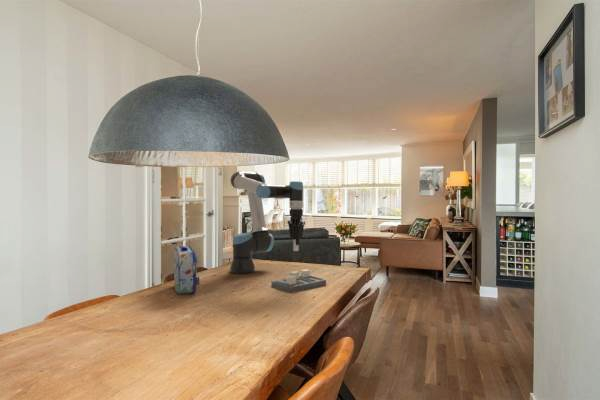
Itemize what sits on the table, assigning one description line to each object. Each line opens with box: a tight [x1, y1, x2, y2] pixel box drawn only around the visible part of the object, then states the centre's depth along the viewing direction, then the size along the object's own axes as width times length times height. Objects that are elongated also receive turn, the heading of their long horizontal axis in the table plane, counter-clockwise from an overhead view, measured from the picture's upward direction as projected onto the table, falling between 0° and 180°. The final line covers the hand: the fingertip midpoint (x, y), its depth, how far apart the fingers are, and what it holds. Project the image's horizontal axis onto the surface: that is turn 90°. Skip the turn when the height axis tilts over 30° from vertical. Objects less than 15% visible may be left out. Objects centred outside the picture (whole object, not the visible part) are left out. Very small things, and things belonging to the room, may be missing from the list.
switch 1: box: [285, 275, 296, 285], centre depth 175 cm, size 3×4×4 cm
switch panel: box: [271, 275, 327, 293], centre depth 182 cm, size 16×24×3 cm, turn 131°
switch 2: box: [300, 268, 311, 277], centre depth 191 cm, size 3×4×4 cm
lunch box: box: [173, 245, 201, 295], centre depth 172 cm, size 28×10×22 cm, turn 25°
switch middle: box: [289, 271, 300, 279], centre depth 185 cm, size 3×4×4 cm
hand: (296, 250), depth 196 cm, fingers closed
